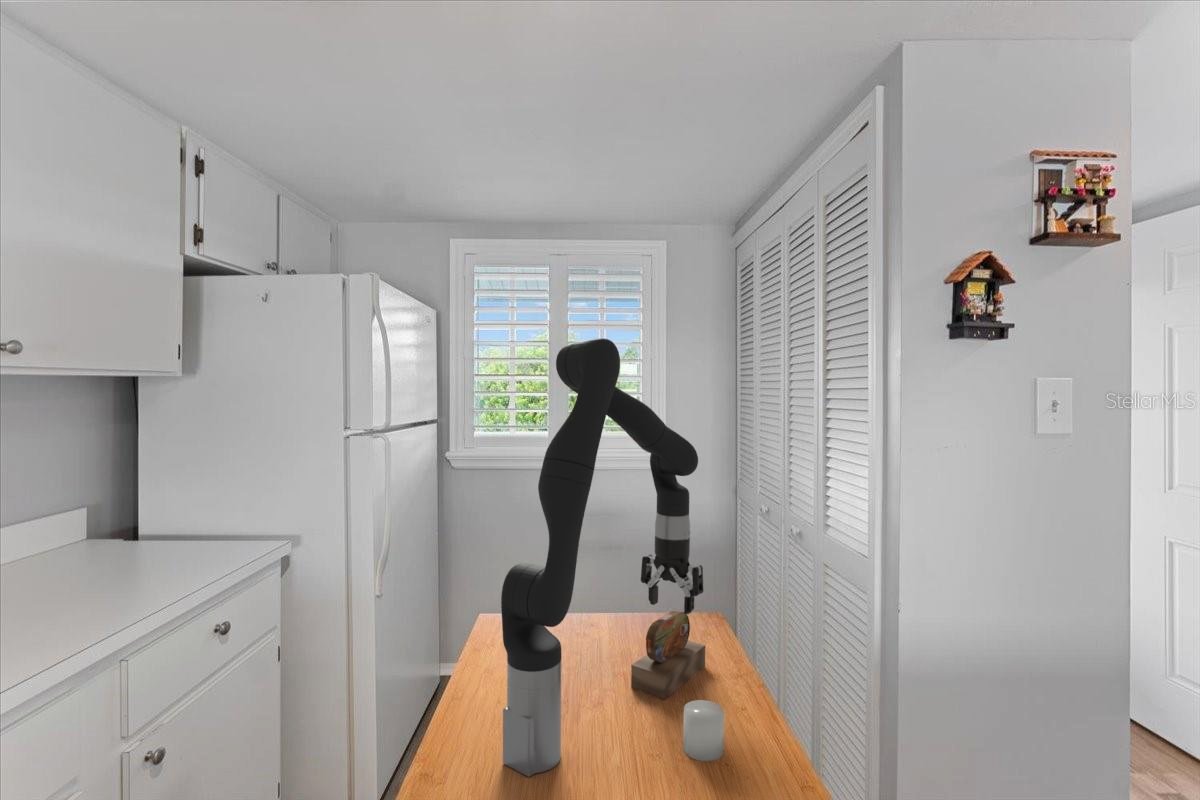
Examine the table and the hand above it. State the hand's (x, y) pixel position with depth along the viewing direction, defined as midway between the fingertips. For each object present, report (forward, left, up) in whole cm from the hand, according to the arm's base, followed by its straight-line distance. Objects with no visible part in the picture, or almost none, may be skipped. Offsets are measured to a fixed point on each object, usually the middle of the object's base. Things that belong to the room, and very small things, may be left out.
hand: (670, 608), depth 136 cm
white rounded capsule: (-19, -18, -15) cm, 30 cm away
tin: (0, +1, -11) cm, 11 cm away
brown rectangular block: (0, 0, -15) cm, 15 cm away
